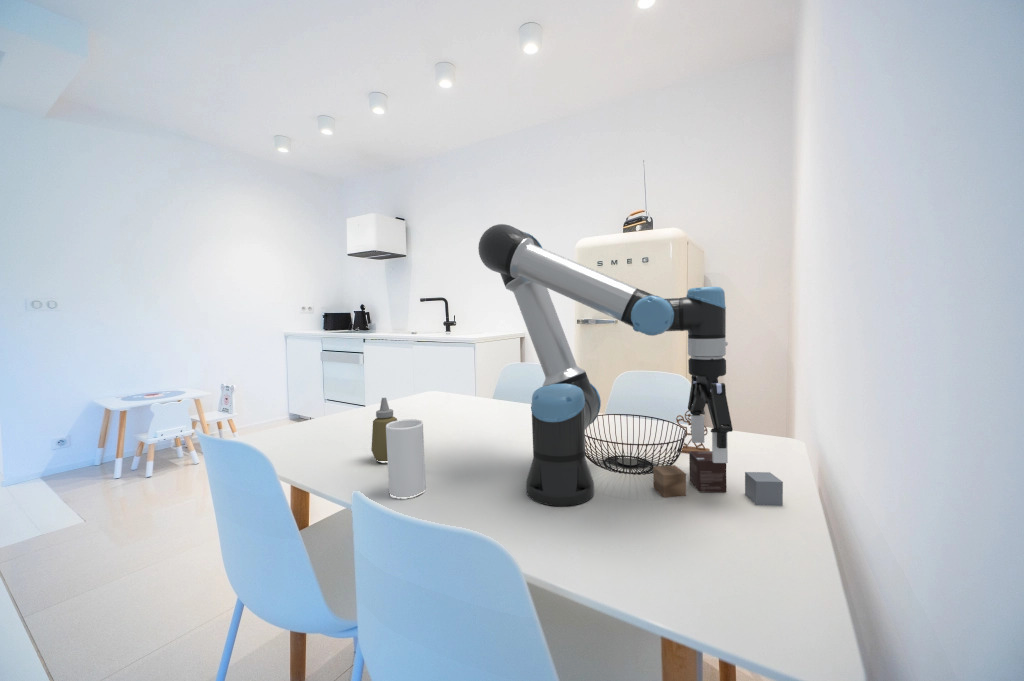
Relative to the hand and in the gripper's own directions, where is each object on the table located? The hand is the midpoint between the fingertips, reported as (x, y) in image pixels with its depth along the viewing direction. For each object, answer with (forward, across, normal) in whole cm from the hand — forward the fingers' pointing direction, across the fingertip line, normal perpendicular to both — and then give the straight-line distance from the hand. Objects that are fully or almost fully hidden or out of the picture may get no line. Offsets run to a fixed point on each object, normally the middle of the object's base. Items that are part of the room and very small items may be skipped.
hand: (708, 451), depth 91 cm
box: (+8, 0, 0) cm, 8 cm away
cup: (+8, -6, +68) cm, 69 cm away
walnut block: (+8, -3, +9) cm, 13 cm away
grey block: (+8, -6, -9) cm, 13 cm away
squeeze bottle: (+8, +14, +82) cm, 84 cm away
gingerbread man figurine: (+8, +24, -4) cm, 26 cm away
